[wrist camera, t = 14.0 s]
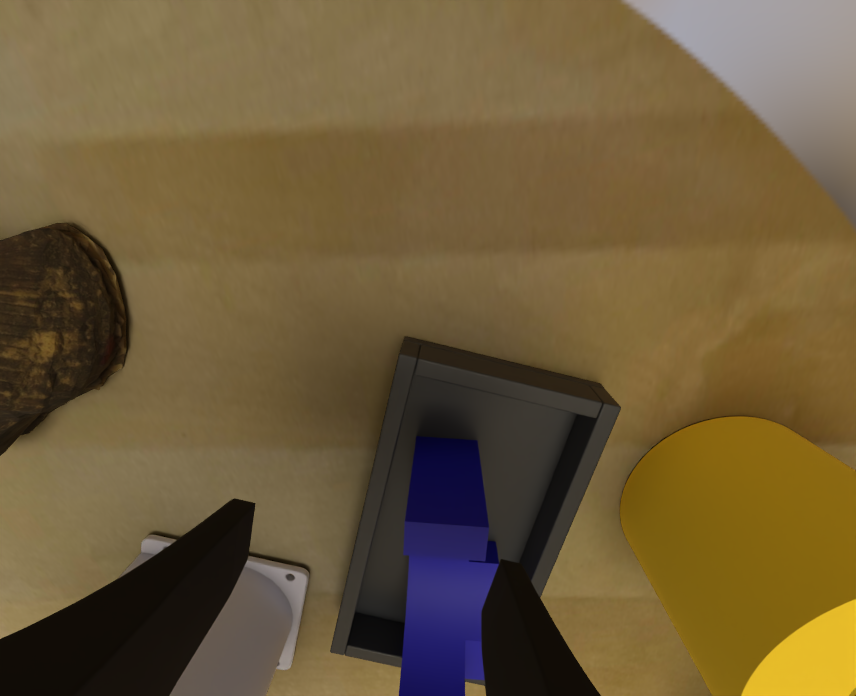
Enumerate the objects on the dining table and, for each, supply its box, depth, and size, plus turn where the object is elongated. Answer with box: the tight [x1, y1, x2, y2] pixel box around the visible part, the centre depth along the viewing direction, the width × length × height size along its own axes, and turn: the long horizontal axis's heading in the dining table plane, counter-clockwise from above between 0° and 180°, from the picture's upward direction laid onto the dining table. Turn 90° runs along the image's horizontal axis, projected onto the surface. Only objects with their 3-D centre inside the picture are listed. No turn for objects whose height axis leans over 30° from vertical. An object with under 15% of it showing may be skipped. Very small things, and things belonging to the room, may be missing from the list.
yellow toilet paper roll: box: [620, 416, 856, 696], centre depth 17 cm, size 10×10×9 cm
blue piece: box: [399, 436, 499, 696], centre depth 20 cm, size 12×4×6 cm, turn 177°
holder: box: [330, 337, 621, 686], centre depth 21 cm, size 10×18×3 cm, turn 166°
